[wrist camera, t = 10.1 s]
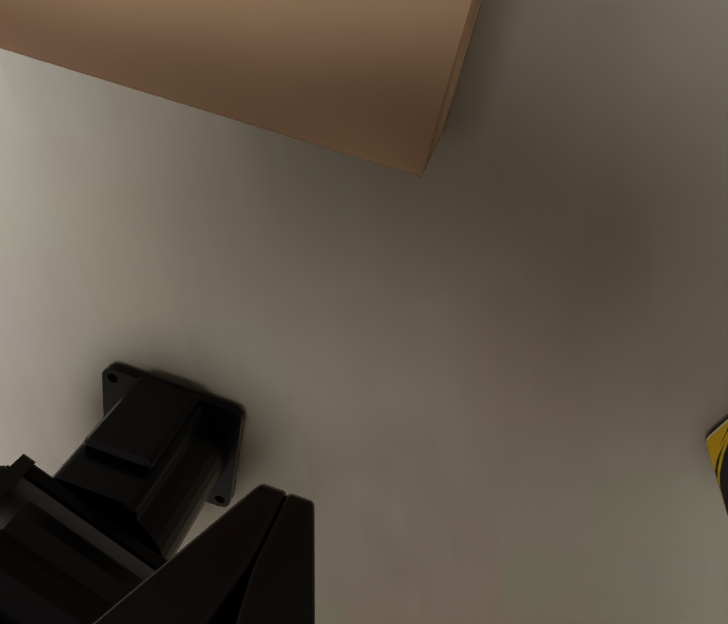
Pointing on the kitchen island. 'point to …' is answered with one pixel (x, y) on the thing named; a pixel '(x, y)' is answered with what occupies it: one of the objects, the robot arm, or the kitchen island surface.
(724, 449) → the medicine bottle
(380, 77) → the deck
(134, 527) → the robot arm
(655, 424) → the kitchen island surface
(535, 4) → the kitchen island surface
